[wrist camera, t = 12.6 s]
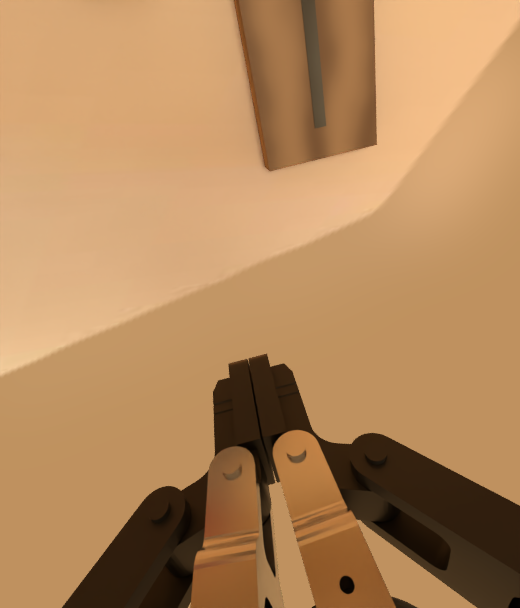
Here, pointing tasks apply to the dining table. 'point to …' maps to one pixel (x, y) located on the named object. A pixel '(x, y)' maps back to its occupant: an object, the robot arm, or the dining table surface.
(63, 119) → the dining table surface
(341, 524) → the robot arm
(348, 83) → the brown wooden slider base
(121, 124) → the dining table surface
